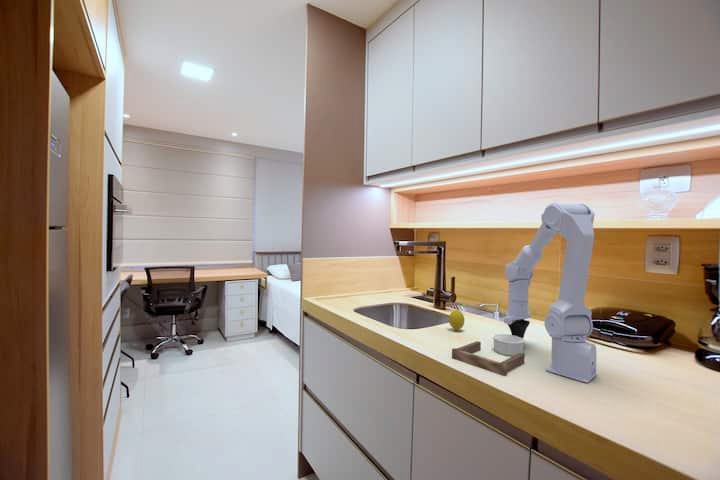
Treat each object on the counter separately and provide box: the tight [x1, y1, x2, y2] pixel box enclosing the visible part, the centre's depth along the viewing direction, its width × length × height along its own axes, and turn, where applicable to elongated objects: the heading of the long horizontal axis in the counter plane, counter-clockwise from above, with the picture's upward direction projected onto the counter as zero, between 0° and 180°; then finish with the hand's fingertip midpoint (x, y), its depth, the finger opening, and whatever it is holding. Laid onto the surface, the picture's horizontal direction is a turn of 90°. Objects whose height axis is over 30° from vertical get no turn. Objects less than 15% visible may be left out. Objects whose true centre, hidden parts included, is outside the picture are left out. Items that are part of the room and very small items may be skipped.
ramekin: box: [492, 333, 525, 357], centre depth 98 cm, size 9×9×4 cm
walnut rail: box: [451, 340, 525, 377], centre depth 91 cm, size 16×13×2 cm
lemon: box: [448, 309, 465, 331], centre depth 121 cm, size 6×6×8 cm
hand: (517, 342), depth 102 cm, fingers closed
